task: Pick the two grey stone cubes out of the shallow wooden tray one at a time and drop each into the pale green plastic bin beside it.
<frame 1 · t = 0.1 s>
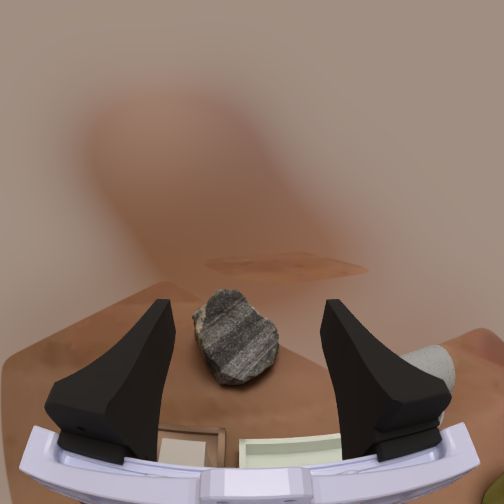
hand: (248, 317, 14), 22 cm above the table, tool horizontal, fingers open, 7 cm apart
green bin: (312, 496, 21), on the table
wooden tray: (155, 472, 23), on the table
stone a: (188, 475, 23), resting on wooden tray
ceramic mug: (409, 407, 31), on the table
rock: (237, 353, 41), on the table
plant pot: (499, 503, 14), on the table
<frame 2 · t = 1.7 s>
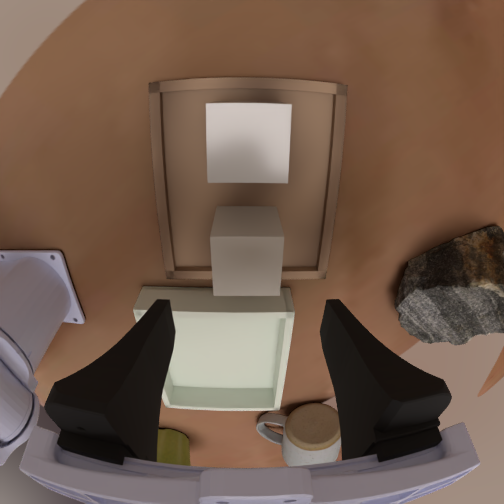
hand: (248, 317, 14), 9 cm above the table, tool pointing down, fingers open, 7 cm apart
stone b: (247, 132, 18), resting on wooden tray
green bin: (219, 347, 27), on the table
wooden tray: (246, 183, 20), on the table
stone a: (246, 233, 21), resting on wooden tray
ceramic mug: (298, 415, 35), on the table
rock: (450, 277, 25), on the table
plant pot: (169, 434, 38), on the table
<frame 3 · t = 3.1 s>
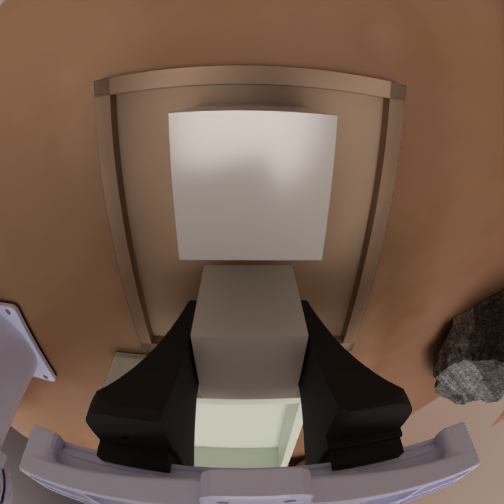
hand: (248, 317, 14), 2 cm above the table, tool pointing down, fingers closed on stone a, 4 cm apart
stone b: (249, 154, 11), resting on wooden tray
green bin: (214, 413, 21), on the table
wooden tray: (248, 231, 13), on the table
stone a: (247, 299, 15), resting on wooden tray, touching gripper
rock: (490, 328, 19), on the table
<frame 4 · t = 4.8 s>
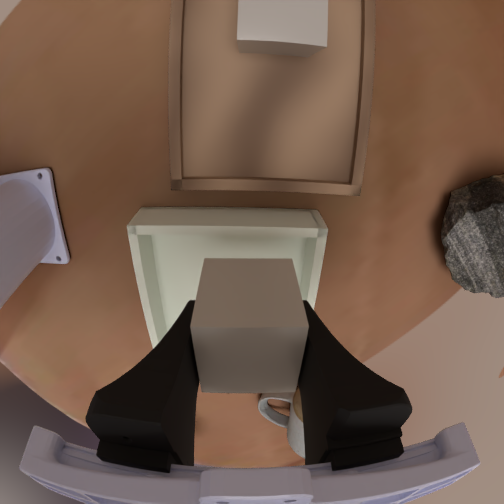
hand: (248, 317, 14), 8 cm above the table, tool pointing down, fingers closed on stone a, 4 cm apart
stone b: (274, 24, 14), resting on wooden tray
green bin: (228, 292, 23), on the table
wooden tray: (272, 78, 16), on the table
stone a: (247, 293, 15), point 7 cm above the table, touching gripper
ceramic mug: (306, 392, 31), on the table
rock: (487, 223, 21), on the table
when the fingers open (4 cm above the table, at t = 6.5 s): stone a drops 2 cm, resting on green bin.
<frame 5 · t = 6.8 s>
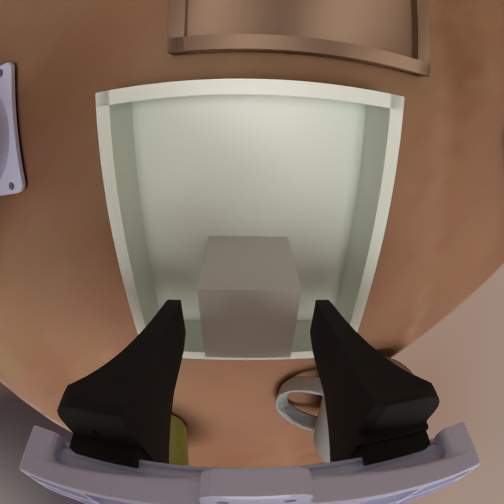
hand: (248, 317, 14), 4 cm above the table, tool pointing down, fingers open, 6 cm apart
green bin: (247, 222, 15), on the table
stone a: (247, 269, 16), resting on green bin
ceramic mug: (339, 382, 23), on the table
plant pot: (157, 419, 26), on the table
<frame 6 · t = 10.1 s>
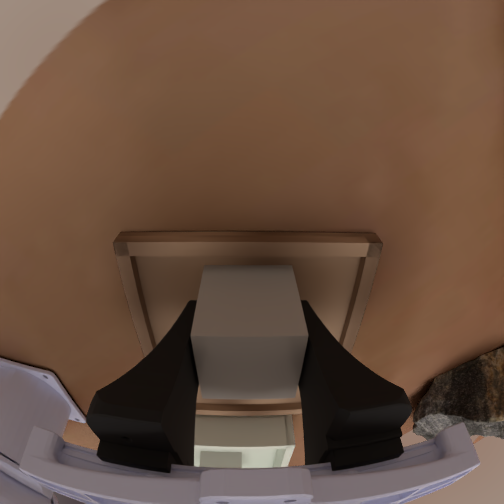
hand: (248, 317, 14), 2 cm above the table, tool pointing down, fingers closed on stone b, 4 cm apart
stone b: (247, 299, 15), resting on wooden tray, touching gripper
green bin: (220, 446, 25), on the table
wooden tray: (247, 342, 17), on the table
stone a: (222, 458, 25), resting on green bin
rock: (464, 382, 22), on the table
when the fingers open (4 cm above the table, at t = 13.7 s): stone b drops 2 cm, resting on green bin.
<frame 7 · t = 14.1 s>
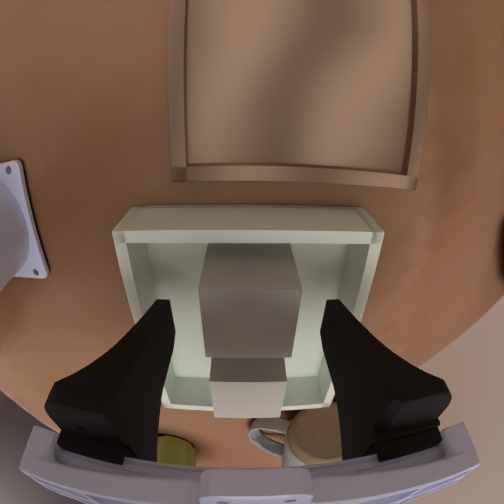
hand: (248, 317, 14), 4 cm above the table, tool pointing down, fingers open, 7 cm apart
stone b: (248, 269, 16), resting on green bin
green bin: (247, 312, 18), on the table
wooden tray: (306, 35, 11), on the table
stone a: (246, 345, 19), resting on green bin
ceramic mug: (304, 418, 26), on the table
plant pot: (169, 442, 29), on the table
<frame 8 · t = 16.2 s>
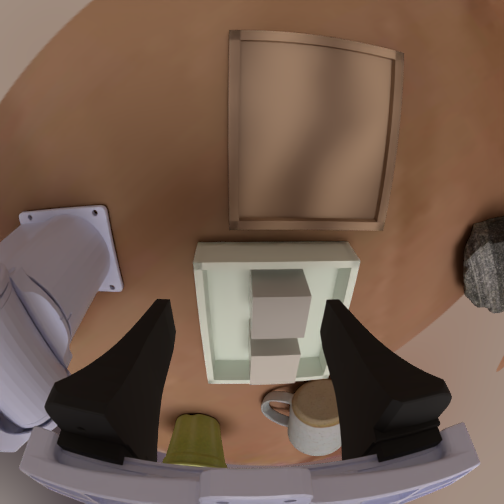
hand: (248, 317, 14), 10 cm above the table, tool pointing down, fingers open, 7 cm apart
stone b: (273, 282, 25), resting on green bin
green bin: (270, 310, 27), on the table
wooden tray: (316, 133, 20), on the table
stone a: (269, 334, 28), resting on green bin
ceramic mug: (304, 394, 35), on the table
rock: (492, 253, 26), on the table
plant pot: (197, 421, 37), on the table
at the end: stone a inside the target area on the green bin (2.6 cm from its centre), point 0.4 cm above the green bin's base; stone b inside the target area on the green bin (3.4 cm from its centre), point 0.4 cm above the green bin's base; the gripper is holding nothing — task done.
